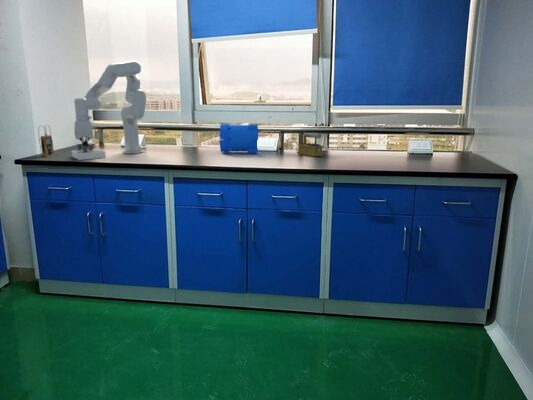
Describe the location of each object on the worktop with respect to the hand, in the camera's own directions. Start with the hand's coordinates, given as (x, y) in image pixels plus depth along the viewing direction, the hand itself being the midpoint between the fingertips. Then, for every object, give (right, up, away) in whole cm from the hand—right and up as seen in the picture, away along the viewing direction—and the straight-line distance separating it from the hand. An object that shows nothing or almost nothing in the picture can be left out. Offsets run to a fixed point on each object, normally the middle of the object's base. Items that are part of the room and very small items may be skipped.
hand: (85, 148), depth 281 cm
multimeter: (-23, -5, +6) cm, 25 cm away
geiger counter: (+142, -2, +19) cm, 143 cm away
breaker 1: (-5, -1, +4) cm, 6 cm away
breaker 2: (+2, -3, -6) cm, 7 cm away
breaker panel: (+1, -6, +2) cm, 6 cm away
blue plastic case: (+96, 0, +29) cm, 100 cm away
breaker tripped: (+3, -1, +2) cm, 3 cm away
